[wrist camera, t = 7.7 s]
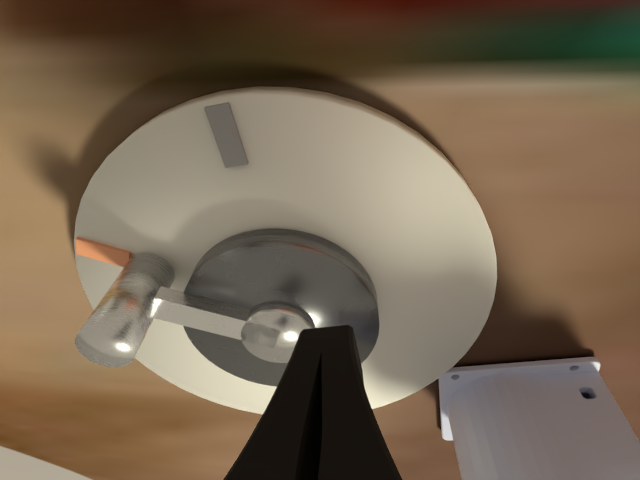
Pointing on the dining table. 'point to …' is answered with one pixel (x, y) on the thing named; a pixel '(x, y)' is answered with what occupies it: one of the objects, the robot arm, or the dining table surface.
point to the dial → (238, 303)
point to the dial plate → (296, 224)
